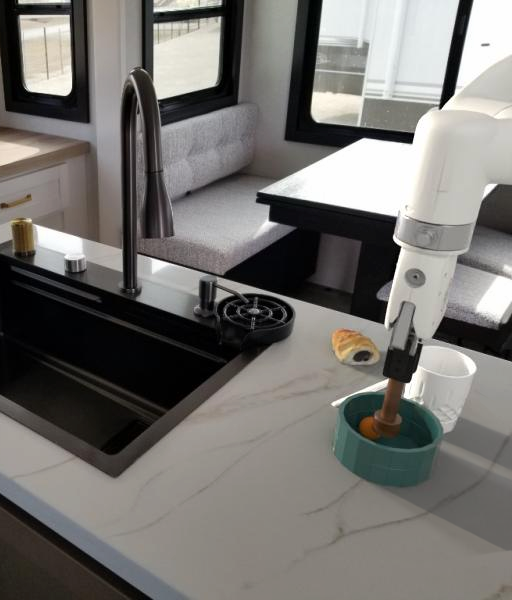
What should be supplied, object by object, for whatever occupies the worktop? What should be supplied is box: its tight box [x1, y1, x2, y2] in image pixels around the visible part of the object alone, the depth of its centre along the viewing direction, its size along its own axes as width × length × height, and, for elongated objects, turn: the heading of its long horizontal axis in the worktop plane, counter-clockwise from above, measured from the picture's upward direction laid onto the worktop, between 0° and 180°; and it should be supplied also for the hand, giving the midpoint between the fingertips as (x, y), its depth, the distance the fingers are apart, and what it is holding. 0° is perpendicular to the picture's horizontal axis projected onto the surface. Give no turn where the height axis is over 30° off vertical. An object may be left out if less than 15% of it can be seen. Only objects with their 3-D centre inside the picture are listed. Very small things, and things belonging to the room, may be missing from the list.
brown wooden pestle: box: [372, 336, 413, 437], centre depth 77 cm, size 3×3×14 cm
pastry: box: [331, 328, 381, 366], centre depth 105 cm, size 9×7×4 cm
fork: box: [331, 378, 389, 408], centre depth 96 cm, size 3×20×2 cm, turn 118°
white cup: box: [403, 345, 477, 434], centre depth 87 cm, size 8×8×10 cm
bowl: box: [331, 391, 444, 488], centre depth 81 cm, size 12×12×6 cm
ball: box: [359, 417, 381, 440], centre depth 85 cm, size 3×3×3 cm
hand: (399, 373), depth 77 cm, fingers closed on brown wooden pestle
